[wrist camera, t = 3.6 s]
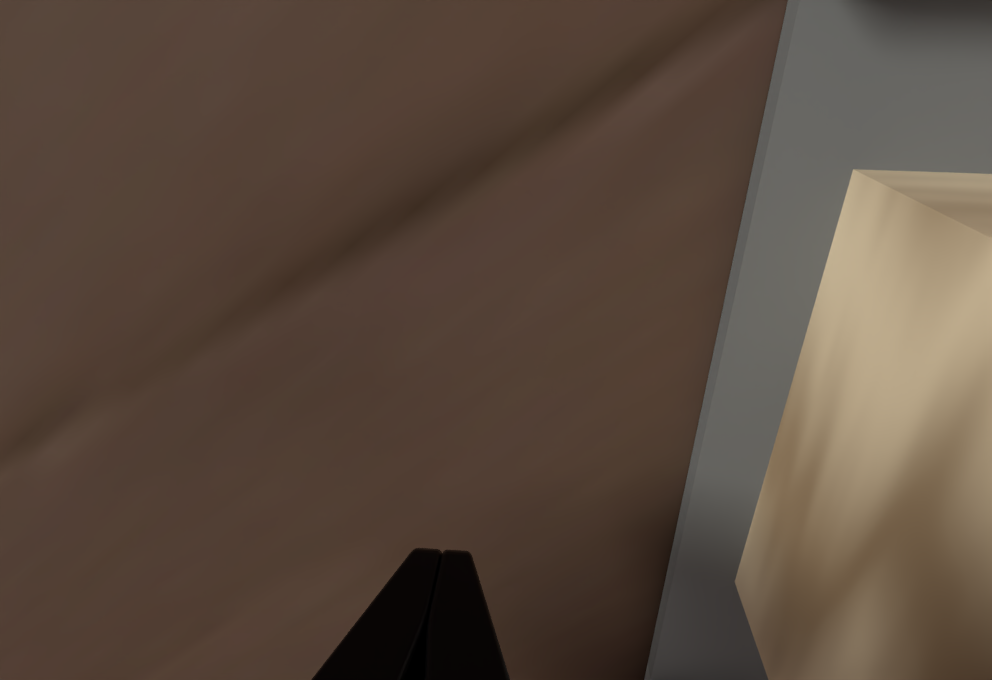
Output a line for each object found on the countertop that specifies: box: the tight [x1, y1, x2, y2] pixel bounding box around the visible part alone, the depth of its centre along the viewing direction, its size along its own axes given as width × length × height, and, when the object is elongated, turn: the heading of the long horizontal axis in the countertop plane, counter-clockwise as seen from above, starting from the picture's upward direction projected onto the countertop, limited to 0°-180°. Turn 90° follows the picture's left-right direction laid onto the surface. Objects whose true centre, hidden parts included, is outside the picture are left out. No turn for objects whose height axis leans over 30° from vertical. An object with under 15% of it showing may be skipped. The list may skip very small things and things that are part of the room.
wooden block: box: [735, 169, 992, 680], centre depth 9 cm, size 10×3×8 cm, turn 179°
